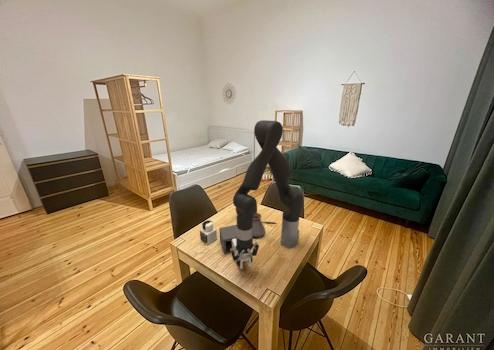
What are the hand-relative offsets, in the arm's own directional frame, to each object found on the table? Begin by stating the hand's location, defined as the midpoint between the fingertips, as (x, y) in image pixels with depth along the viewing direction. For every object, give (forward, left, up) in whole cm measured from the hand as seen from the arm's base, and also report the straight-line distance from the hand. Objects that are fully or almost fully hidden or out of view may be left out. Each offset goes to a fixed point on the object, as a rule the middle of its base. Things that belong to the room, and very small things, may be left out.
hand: (244, 263), depth 97 cm
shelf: (0, -21, -5) cm, 21 cm away
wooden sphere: (-16, -45, -5) cm, 48 cm away
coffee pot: (-18, -22, -5) cm, 29 cm away
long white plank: (0, -6, -1) cm, 6 cm away
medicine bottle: (+13, -30, -5) cm, 33 cm away
